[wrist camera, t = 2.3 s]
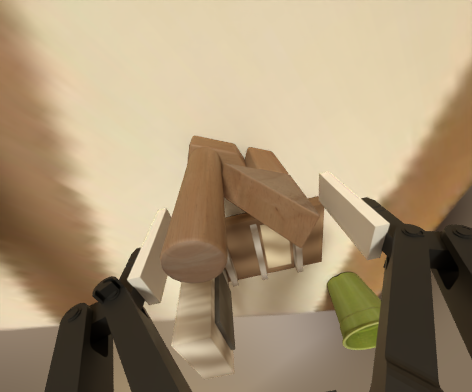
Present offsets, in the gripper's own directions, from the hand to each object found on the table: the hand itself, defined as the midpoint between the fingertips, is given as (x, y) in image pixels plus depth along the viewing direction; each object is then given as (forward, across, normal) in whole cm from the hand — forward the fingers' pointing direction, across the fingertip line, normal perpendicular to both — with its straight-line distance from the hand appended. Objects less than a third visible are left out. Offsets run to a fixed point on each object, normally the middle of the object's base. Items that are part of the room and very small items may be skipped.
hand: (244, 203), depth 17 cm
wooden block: (+11, 0, 0) cm, 11 cm away
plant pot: (+12, +18, -36) cm, 42 cm away
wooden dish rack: (+11, 0, -17) cm, 20 cm away
